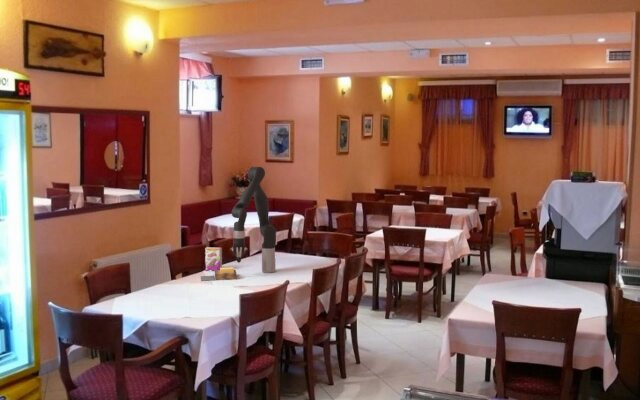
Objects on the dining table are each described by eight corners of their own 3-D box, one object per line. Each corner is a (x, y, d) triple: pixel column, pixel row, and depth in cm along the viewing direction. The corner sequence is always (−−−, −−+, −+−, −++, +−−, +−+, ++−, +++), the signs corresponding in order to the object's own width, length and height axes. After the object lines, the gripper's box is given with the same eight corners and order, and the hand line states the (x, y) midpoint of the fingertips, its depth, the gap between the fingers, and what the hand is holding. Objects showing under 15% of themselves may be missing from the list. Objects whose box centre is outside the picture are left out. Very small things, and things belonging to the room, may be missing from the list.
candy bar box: (205, 271, 447) (204, 248, 446) (207, 269, 452) (206, 247, 451) (220, 271, 446) (220, 248, 445) (222, 269, 451) (221, 247, 450)
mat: (213, 276, 431) (213, 275, 431) (214, 280, 417) (214, 280, 417) (200, 276, 429) (200, 276, 429) (201, 281, 415) (201, 280, 415)
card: (233, 270, 429) (233, 267, 429) (233, 272, 423) (233, 269, 423) (220, 271, 427) (220, 267, 427) (220, 273, 421) (220, 269, 421)
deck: (235, 275, 433) (235, 269, 433) (236, 279, 420) (236, 273, 420) (214, 276, 430) (214, 270, 430) (215, 280, 418) (215, 274, 417)
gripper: (248, 236, 430) (248, 261, 431) (228, 236, 427) (228, 261, 429) (249, 237, 423) (249, 263, 424) (229, 238, 420) (229, 263, 422)
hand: (238, 262), depth 426 cm, fingers closed
